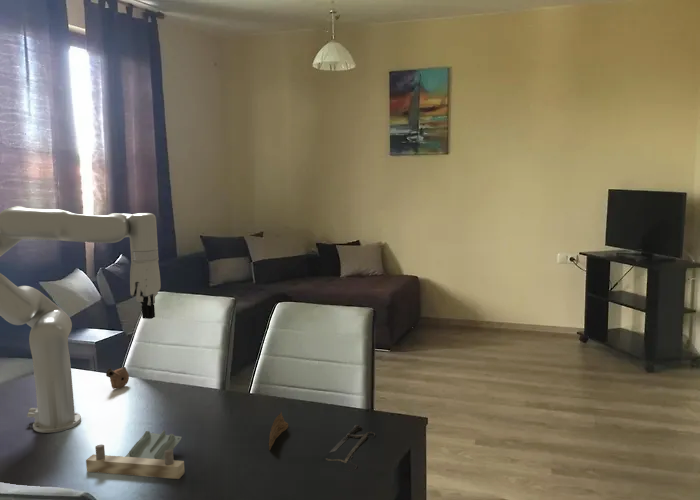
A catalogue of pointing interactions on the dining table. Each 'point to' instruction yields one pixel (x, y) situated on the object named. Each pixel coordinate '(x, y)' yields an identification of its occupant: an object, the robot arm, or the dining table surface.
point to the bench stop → (135, 465)
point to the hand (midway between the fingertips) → (148, 317)
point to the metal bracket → (153, 445)
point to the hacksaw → (350, 434)
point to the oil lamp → (118, 377)
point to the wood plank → (277, 429)
